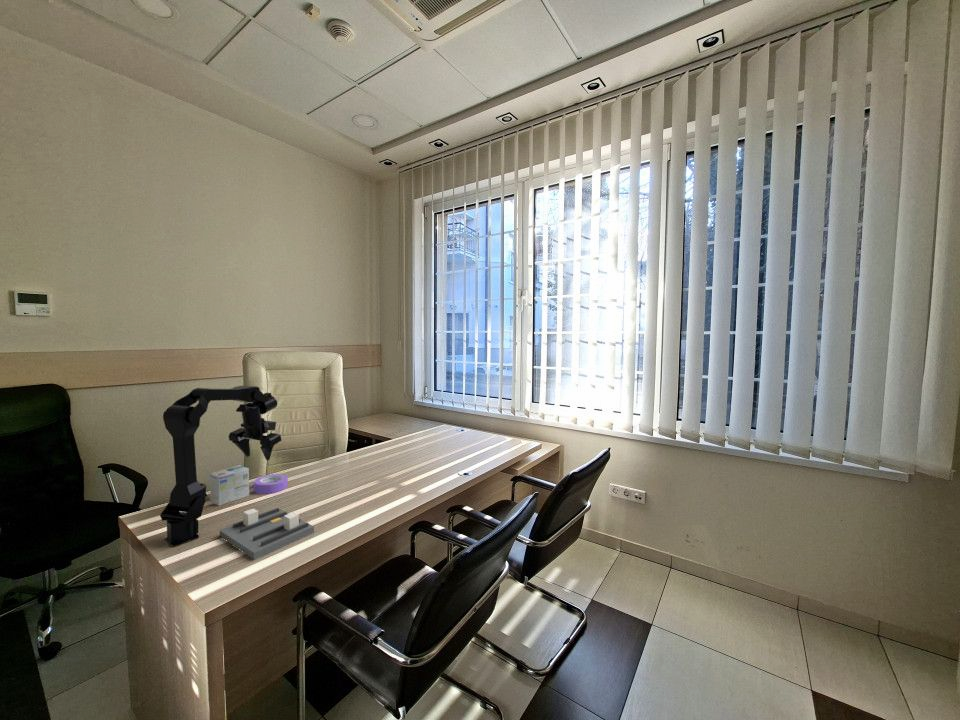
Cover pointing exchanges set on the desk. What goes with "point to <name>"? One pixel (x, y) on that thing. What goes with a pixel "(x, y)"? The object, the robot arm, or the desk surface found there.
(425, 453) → the desk surface
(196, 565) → the desk surface
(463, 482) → the desk surface
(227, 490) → the light bulb box
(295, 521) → the tab
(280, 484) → the masking tape
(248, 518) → the tab
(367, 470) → the desk surface
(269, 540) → the switch board
